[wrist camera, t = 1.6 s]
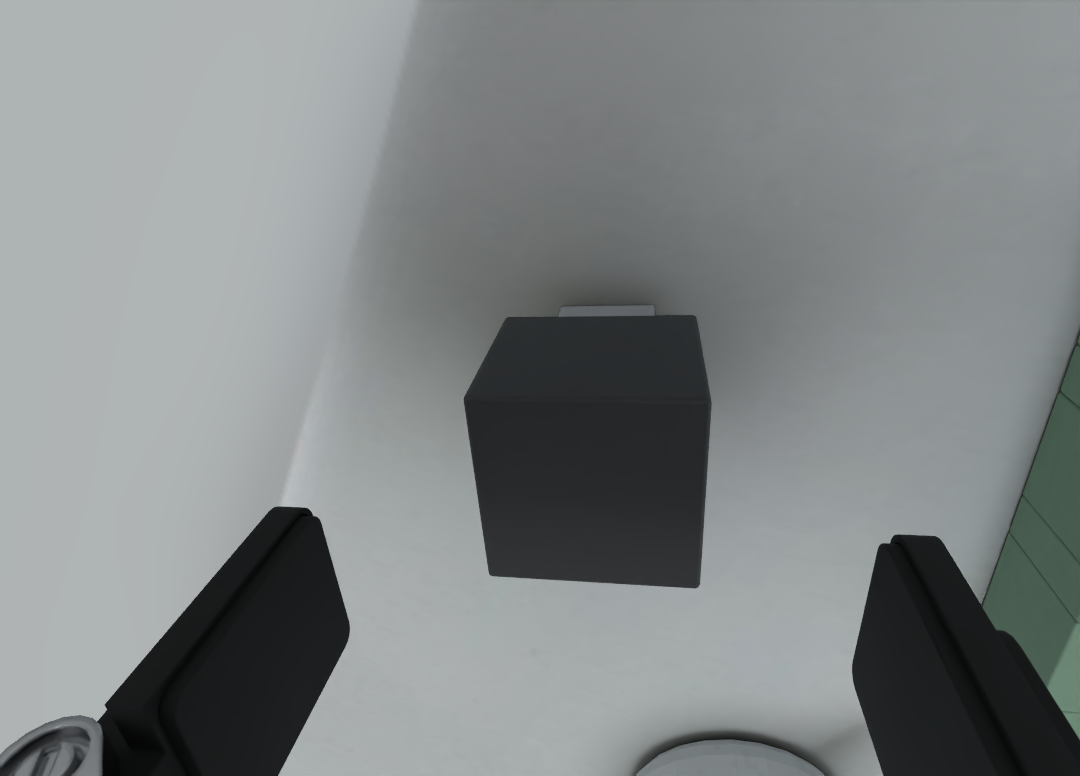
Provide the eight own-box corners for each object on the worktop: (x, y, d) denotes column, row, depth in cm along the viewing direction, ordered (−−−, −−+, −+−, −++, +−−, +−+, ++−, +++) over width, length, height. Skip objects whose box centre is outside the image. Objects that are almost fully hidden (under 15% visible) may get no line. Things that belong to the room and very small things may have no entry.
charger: (527, 275, 17) (461, 397, 11) (689, 272, 17) (712, 400, 11) (538, 412, 20) (488, 577, 13) (683, 414, 19) (699, 591, 13)
